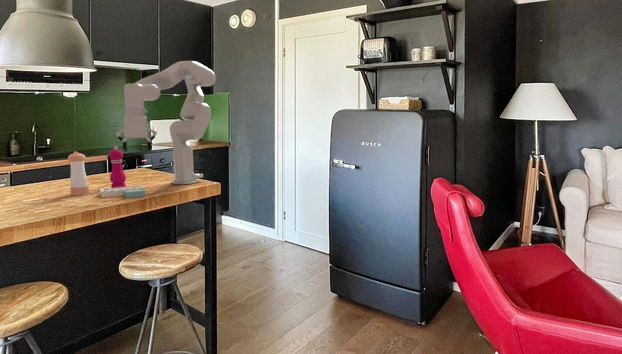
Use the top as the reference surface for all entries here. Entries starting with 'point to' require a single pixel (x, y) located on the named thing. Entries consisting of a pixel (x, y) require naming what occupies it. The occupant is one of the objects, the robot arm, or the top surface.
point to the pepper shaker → (78, 174)
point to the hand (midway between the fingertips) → (137, 150)
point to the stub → (134, 193)
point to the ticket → (117, 191)
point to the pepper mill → (117, 169)
